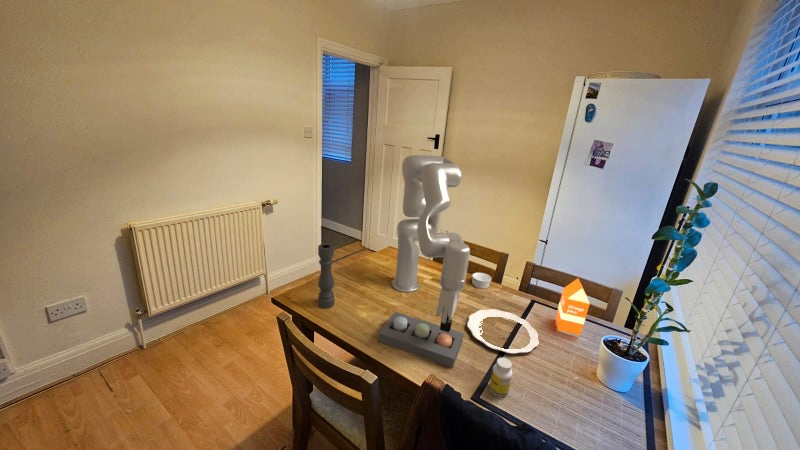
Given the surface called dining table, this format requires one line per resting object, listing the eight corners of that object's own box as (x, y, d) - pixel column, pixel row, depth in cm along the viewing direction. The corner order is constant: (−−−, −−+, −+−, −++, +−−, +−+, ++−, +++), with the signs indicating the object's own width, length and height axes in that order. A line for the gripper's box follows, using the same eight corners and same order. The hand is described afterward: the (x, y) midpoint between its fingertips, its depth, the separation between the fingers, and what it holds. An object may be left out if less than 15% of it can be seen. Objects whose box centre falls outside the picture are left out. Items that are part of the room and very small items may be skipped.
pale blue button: (396, 322, 113) (397, 315, 112) (408, 326, 111) (409, 318, 110) (390, 329, 109) (391, 322, 108) (403, 333, 107) (404, 326, 106)
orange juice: (556, 332, 118) (569, 285, 112) (554, 319, 126) (566, 275, 120) (579, 338, 116) (594, 290, 110) (576, 324, 124) (589, 279, 118)
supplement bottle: (486, 382, 93) (491, 355, 90) (503, 382, 93) (509, 355, 90) (492, 397, 88) (498, 369, 85) (511, 397, 88) (518, 369, 85)
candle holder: (330, 310, 121) (330, 250, 113) (315, 307, 122) (314, 248, 114) (336, 301, 127) (337, 244, 119) (322, 299, 128) (321, 242, 120)
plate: (535, 322, 124) (536, 318, 123) (540, 366, 101) (541, 361, 101) (471, 307, 131) (471, 303, 130) (462, 344, 108) (463, 340, 108)
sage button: (417, 328, 110) (418, 321, 109) (430, 333, 108) (431, 325, 107) (412, 336, 106) (413, 329, 105) (425, 341, 104) (426, 333, 103)
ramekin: (475, 278, 155) (476, 270, 154) (492, 284, 151) (494, 276, 149) (467, 285, 149) (469, 276, 147) (485, 291, 144) (487, 283, 142)
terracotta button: (438, 339, 108) (439, 331, 107) (452, 343, 106) (453, 336, 105) (434, 347, 103) (435, 340, 102) (448, 352, 102) (450, 345, 101)
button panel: (394, 319, 119) (395, 311, 118) (462, 341, 110) (463, 332, 108) (377, 341, 106) (378, 333, 105) (452, 368, 97) (454, 359, 96)
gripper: (447, 268, 105) (440, 314, 111) (433, 288, 92) (427, 339, 98) (469, 273, 102) (461, 320, 109) (459, 296, 89) (450, 347, 96)
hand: (445, 329), depth 103 cm, fingers closed
